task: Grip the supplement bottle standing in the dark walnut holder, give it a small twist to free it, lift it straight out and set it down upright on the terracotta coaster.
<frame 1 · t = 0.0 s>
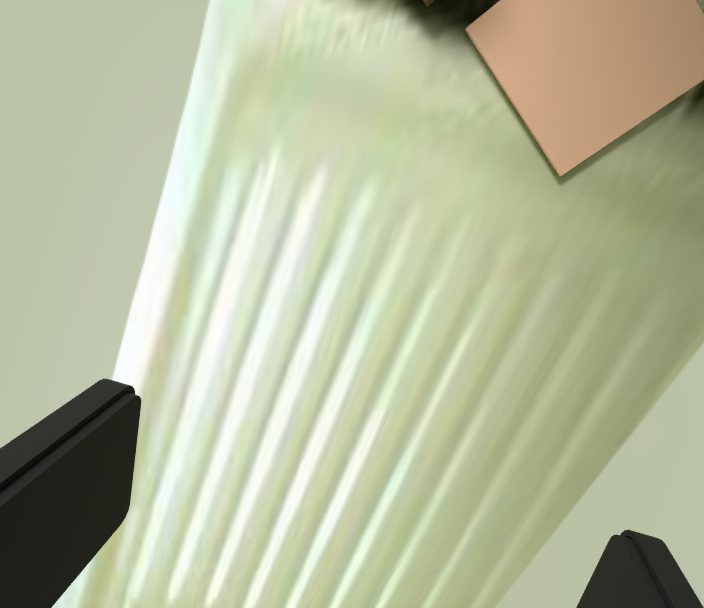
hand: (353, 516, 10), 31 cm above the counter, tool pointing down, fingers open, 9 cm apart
terracotta coaster: (592, 46, 34), on the counter
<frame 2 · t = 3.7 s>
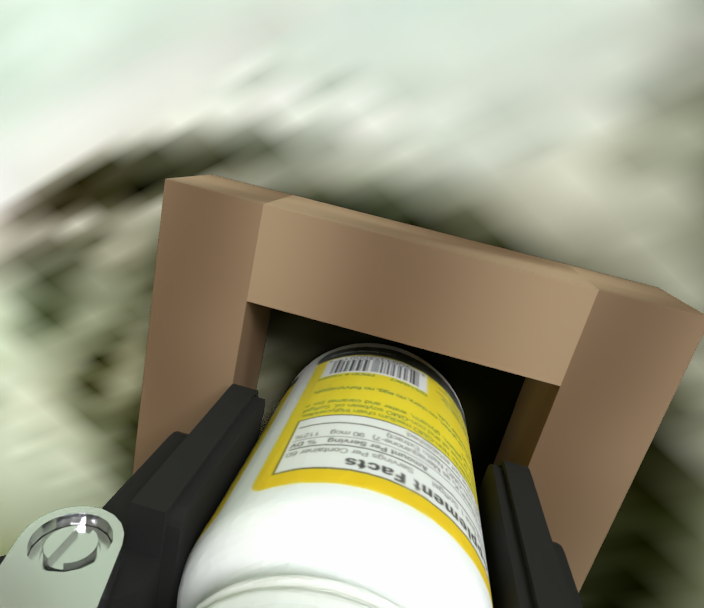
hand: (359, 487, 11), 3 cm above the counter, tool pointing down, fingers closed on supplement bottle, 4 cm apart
walnut cup holder: (373, 424, 13), on the counter
supplement bottle: (374, 420, 13), resting in walnut cup holder, touching gripper
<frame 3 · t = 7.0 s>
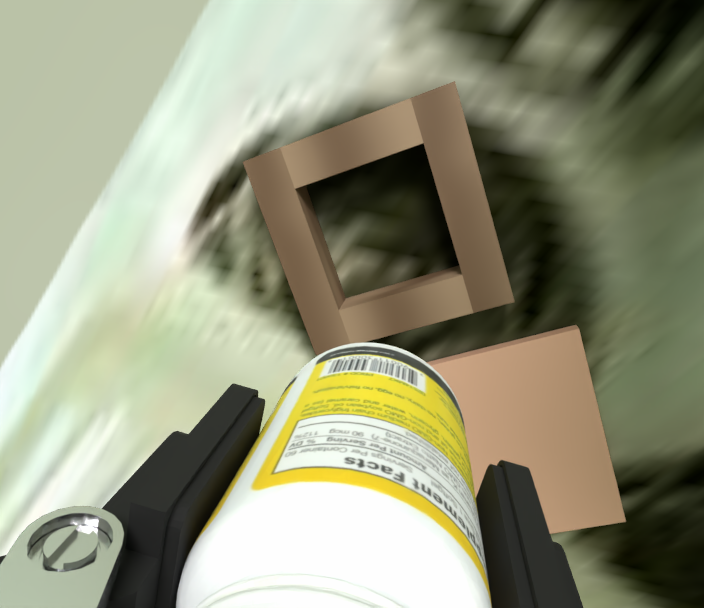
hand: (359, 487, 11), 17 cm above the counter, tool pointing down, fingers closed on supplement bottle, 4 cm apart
walnut cup holder: (382, 225, 26), on the counter
supplement bottle: (372, 419, 13), point 15 cm above the counter, touching gripper
terracotta coaster: (491, 446, 29), on the counter
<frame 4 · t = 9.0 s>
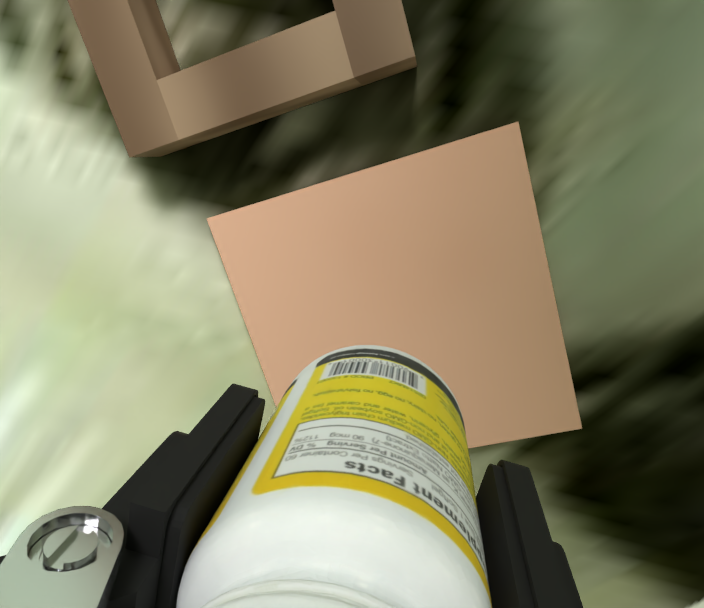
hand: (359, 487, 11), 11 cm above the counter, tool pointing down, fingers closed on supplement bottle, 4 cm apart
supplement bottle: (372, 421, 13), point 8 cm above the counter, touching gripper
terracotta coaster: (396, 319, 21), on the counter
when the fingers open (4 cm above the counter, at t = 10.4 s): supplement bottle drops 1 cm, resting on terracotta coaster.
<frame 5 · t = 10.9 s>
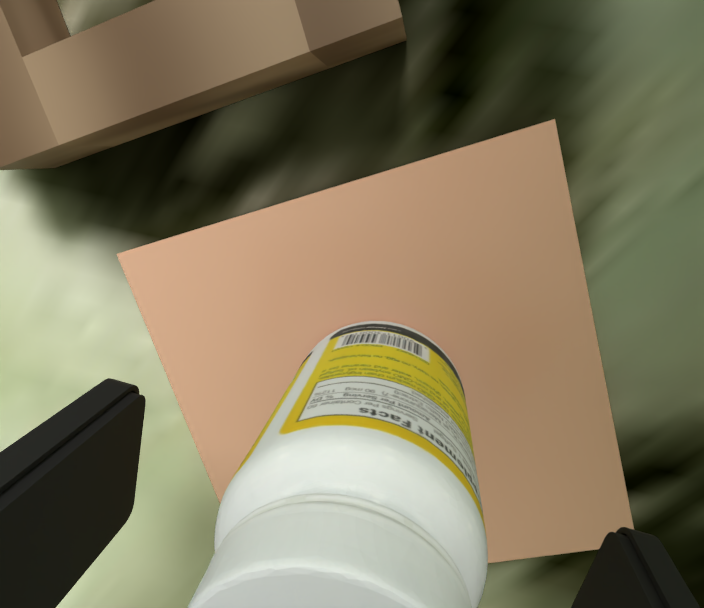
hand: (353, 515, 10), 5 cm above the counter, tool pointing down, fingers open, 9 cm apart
supplement bottle: (380, 393, 15), resting on terracotta coaster
terracotta coaster: (380, 390, 15), on the counter
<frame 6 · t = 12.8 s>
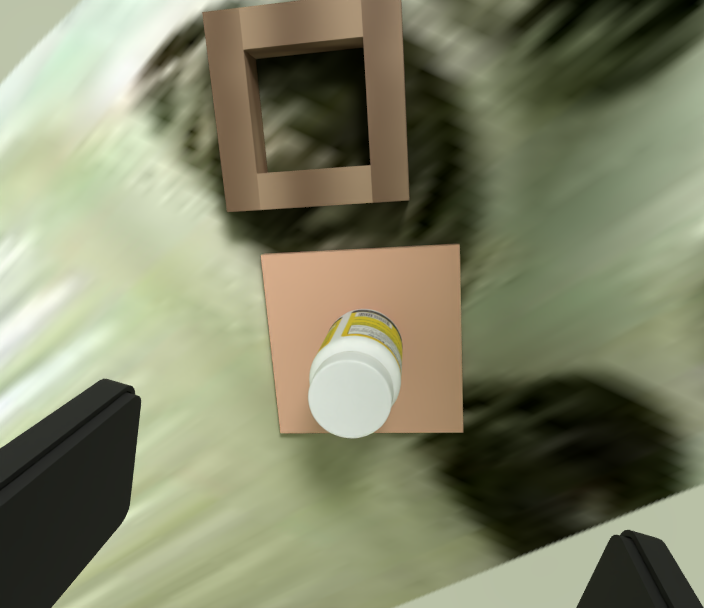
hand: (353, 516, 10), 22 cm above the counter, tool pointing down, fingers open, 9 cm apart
walnut cup holder: (315, 113, 29), on the counter
supplement bottle: (365, 342, 32), resting on terracotta coaster
terracotta coaster: (364, 342, 32), on the counter
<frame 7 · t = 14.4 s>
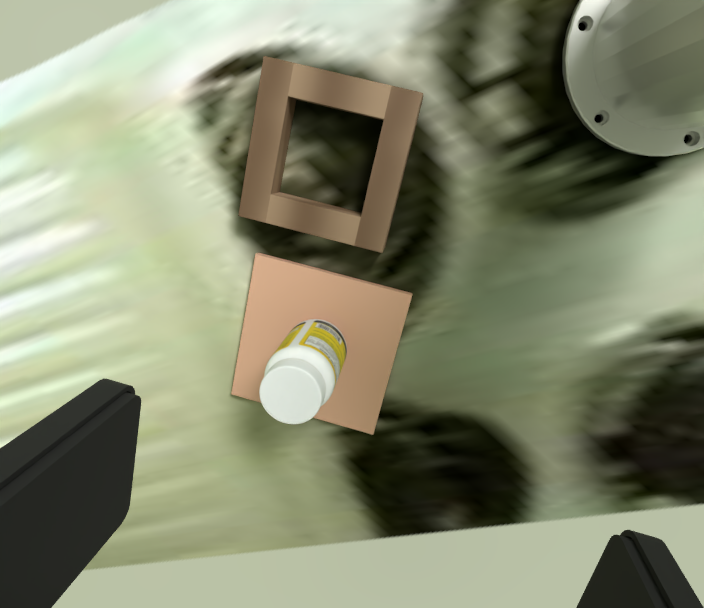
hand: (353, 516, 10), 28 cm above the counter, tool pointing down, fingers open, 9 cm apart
walnut cup holder: (331, 157, 36), on the counter
supplement bottle: (318, 345, 39), resting on terracotta coaster
terracotta coaster: (318, 344, 40), on the counter
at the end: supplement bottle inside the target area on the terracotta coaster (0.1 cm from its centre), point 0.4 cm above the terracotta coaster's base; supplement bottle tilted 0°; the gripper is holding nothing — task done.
